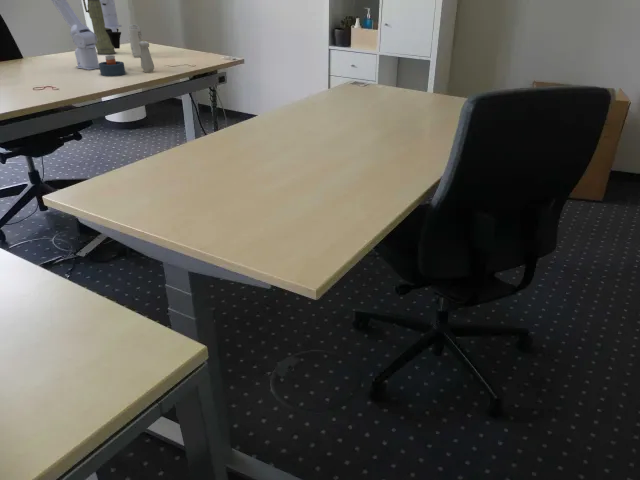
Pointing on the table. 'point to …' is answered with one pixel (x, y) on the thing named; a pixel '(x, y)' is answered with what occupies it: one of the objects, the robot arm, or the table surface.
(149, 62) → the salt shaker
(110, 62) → the shaker
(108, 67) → the dark blue bowl
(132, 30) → the energy drink can
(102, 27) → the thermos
